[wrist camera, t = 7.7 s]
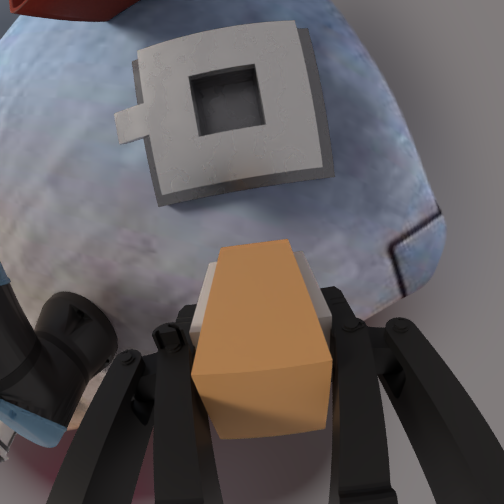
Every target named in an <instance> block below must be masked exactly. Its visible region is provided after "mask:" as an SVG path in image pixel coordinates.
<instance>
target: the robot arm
mask: <svg viewBox="0 0 504 504" xmlns="http://www.w3.org/2000/svg"><path fill="white" fill-rule="evenodd" d="M293 254H294V256H295V259H296V261H297V264H298V267H299V269H300V272H301V274H302V277H303V280H304V282H305V285H306V288H307V290H308V293H309V296H310V298H311V301H312V304H313V307H314V309H315V312H316V315H317V317H318V320H319V323H320V326H321V329H322V331H323V334H324V337H325V340H326V343H327V346H328V349H329V351H330V354H331V357H332V363H333V365H332V377H331V382H332V393H333V431H332V432H333V433H332V462H331V480H330V494H329V504H398V501H397V495H396V492H395V490H394V489H393V488H391V484H390V470H389V457H388V447H387V437H386V428H385V421H384V414H383V407H382V400H381V394H380V388H379V382H378V378H379V379H380V381H381V383H382V385H383V387H384V389H385V391H386V393H387V395H388V397H389V399H390V401H391V403H392V405H393V407H394V409H395V411H396V413H397V415H398V417H399V419H400V421H401V423H402V425H403V428H404V430H405V432H406V434H407V436H408V438H409V440H410V443H411V445H412V447H413V449H414V451H415V453H416V455H417V458H418V460H419V463H420V465H421V467H422V469H423V472H424V474H425V476H426V479H427V481H428V484H429V486H430V488H431V491H432V493H433V496H434V498H435V501H436V504H504V450H503V449H502V447H501V445H500V443H499V442H498V440H497V438H496V437H495V435H494V433H493V432H492V430H491V429H490V427H489V425H488V424H487V422H486V421H485V419H484V417H483V416H482V415H481V413H480V411H479V410H478V408H477V407H476V405H475V404H474V402H473V401H472V400H471V398H470V396H469V395H468V393H467V392H466V391H465V389H464V388H463V386H462V385H461V384H460V382H459V381H458V379H457V378H456V377H455V375H454V374H453V373H452V371H451V370H450V369H449V367H448V366H447V365H446V363H445V362H444V361H443V359H442V358H441V357H440V355H439V354H438V353H437V352H436V350H435V349H434V348H433V347H432V345H431V344H430V343H429V341H428V340H427V339H426V338H425V336H424V335H423V334H422V333H421V331H420V330H419V329H418V328H417V327H416V325H415V324H414V323H413V322H412V321H410V320H408V319H405V318H400V317H399V318H393V319H391V320H389V321H388V322H387V323H386V327H385V328H378V327H377V328H376V327H368V326H367V325H366V324H365V322H364V321H362V320H361V319H359V318H356V317H355V315H354V313H353V311H352V310H351V308H350V306H349V304H348V302H347V301H346V299H345V298H344V295H343V294H342V292H341V290H339V289H338V288H336V287H334V286H333V287H326V288H319V286H318V283H317V281H316V279H315V277H314V275H313V273H312V270H311V268H310V266H309V264H308V262H307V260H306V258H305V256H304V253H303V251H298V252H293ZM216 265H217V262H212V263H209V266H208V269H207V273H206V276H205V279H204V283H203V286H202V289H201V293H200V296H199V299H198V303H197V304H194V305H185V306H184V307H183V308H182V309H181V310H180V311H179V314H178V317H177V319H176V322H175V323H174V322H173V323H166V324H162V325H161V326H159V327H157V328H156V329H155V330H154V331H153V333H152V336H153V339H154V341H155V344H156V346H157V348H158V352H157V353H154V354H151V355H147V356H143V357H142V356H141V354H140V352H138V351H137V350H133V349H132V350H126V351H123V352H121V353H120V354H118V355H117V356H116V358H115V359H114V361H113V363H112V364H111V366H110V368H109V370H108V372H107V373H106V375H105V377H104V379H103V381H102V383H101V385H100V386H99V388H98V390H97V392H96V394H95V396H94V398H93V400H92V402H91V404H90V406H89V408H88V410H87V412H86V414H85V416H84V418H83V420H82V422H81V424H80V426H79V428H78V430H77V432H76V434H75V436H74V438H73V441H72V443H71V445H70V447H69V449H68V451H67V454H66V456H65V458H64V461H63V463H62V465H61V467H60V470H59V472H58V475H57V477H56V480H55V482H54V485H53V487H52V490H51V492H50V495H49V497H48V500H47V503H46V504H131V502H132V498H133V494H134V490H135V487H136V483H137V480H138V476H139V473H140V469H141V466H142V462H143V459H144V455H145V452H146V448H147V445H148V442H149V438H150V435H151V432H152V429H153V425H154V441H153V442H154V443H153V450H154V452H153V454H154V457H153V459H154V490H155V491H154V492H155V504H223V500H222V495H221V490H220V485H219V480H218V475H217V469H216V464H215V458H214V452H213V446H212V440H211V434H210V427H209V420H208V413H207V410H206V408H205V406H204V404H203V402H202V399H201V397H200V395H199V393H198V390H197V388H196V386H195V383H194V381H193V379H192V376H191V372H192V368H193V363H194V359H195V354H196V349H197V345H198V340H199V336H200V332H201V327H202V323H203V319H204V314H205V310H206V306H207V302H208V297H209V293H210V289H211V285H212V281H213V277H214V273H215V269H216ZM10 282H11V281H10V279H9V278H8V277H7V275H6V273H5V271H4V269H3V266H2V264H1V262H0V420H1V421H2V422H3V423H4V424H6V425H7V426H8V427H10V428H11V429H12V430H14V431H15V432H17V433H18V434H20V435H21V436H23V437H25V438H27V439H28V440H30V441H32V442H34V443H36V444H38V445H41V446H44V447H48V448H51V447H55V446H56V445H57V444H58V443H59V441H60V439H61V437H62V436H63V434H64V432H65V431H67V427H68V425H69V422H70V420H71V418H72V416H73V413H74V411H75V409H76V407H77V405H78V403H79V401H80V398H81V396H82V394H83V392H84V390H85V388H86V386H87V384H88V382H89V381H90V380H91V379H92V378H93V377H94V376H96V375H97V374H98V373H99V372H101V371H102V370H103V369H104V368H105V367H107V366H108V365H109V364H110V363H111V361H112V359H113V357H114V355H115V354H116V351H117V338H116V334H115V331H114V329H113V327H112V325H111V324H110V322H109V321H108V319H107V318H106V317H105V315H104V314H103V313H102V312H101V311H100V310H99V309H98V308H97V307H96V306H95V305H94V304H92V303H91V302H90V301H88V300H87V299H85V298H83V297H82V296H80V295H77V294H75V293H71V292H58V293H56V294H54V295H53V296H52V297H51V298H50V299H49V300H48V301H47V302H46V303H45V304H44V306H43V308H42V310H41V313H40V316H39V318H38V321H37V324H36V326H35V329H34V330H33V328H32V326H31V325H30V323H29V321H28V319H27V317H26V316H25V314H24V312H23V310H22V308H21V306H20V304H19V302H18V300H17V298H16V296H15V293H14V291H13V289H12V287H11V285H10ZM377 376H378V377H377Z"/></svg>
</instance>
